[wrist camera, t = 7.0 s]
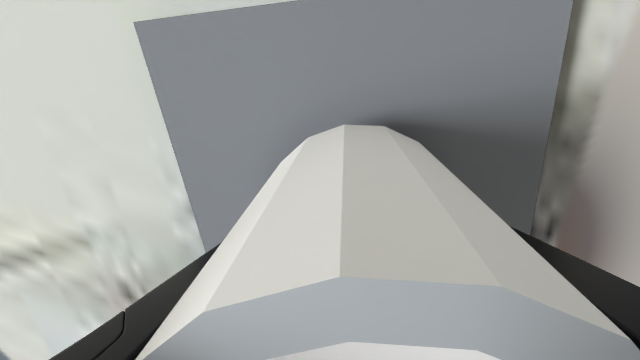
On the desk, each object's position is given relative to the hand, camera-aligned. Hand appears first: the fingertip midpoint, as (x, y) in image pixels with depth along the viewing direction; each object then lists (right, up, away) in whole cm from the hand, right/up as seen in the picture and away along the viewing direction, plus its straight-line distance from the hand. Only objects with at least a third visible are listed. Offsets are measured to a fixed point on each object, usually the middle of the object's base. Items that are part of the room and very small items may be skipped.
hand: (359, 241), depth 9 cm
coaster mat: (0, +2, +3) cm, 3 cm away
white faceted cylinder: (0, +1, +1) cm, 2 cm away
